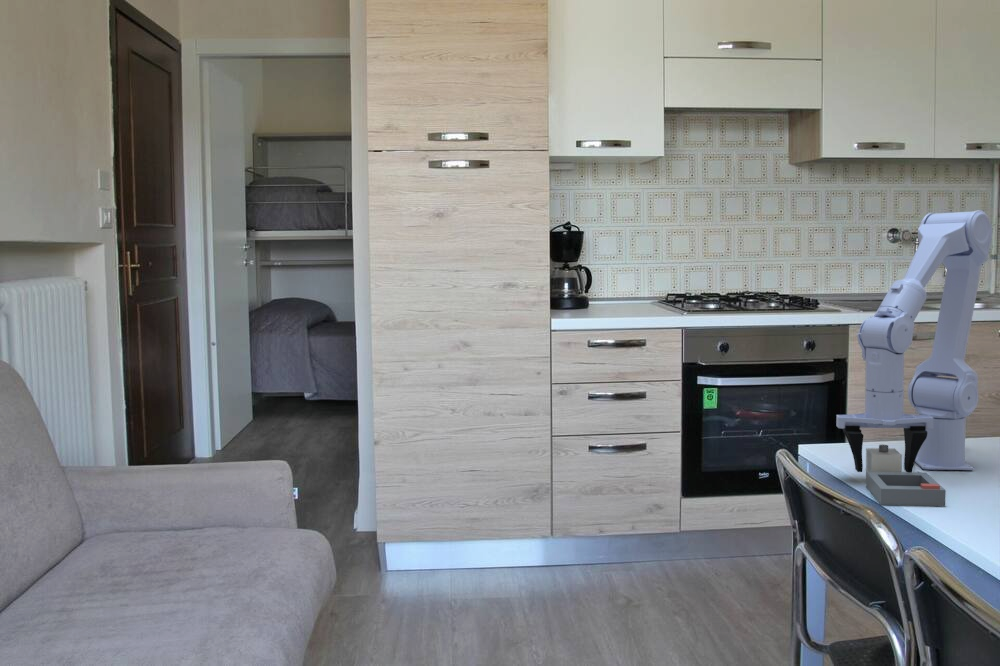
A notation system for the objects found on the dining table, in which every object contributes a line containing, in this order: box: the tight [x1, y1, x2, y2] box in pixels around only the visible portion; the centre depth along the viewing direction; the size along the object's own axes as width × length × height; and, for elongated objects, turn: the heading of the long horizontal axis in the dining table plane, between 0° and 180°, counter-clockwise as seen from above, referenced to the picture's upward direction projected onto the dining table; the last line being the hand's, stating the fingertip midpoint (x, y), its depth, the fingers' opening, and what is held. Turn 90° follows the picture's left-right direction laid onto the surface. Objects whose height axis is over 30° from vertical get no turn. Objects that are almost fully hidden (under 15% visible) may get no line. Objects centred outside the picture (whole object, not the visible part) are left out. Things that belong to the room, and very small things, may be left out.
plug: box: [865, 444, 903, 473], centre depth 143 cm, size 4×4×6 cm
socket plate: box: [865, 471, 947, 507], centre depth 135 cm, size 10×9×3 cm
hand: (883, 471), depth 144 cm, fingers open, 7 cm apart
